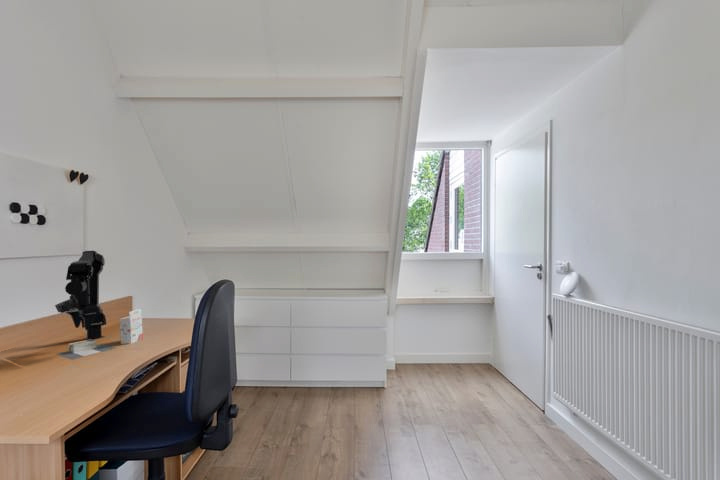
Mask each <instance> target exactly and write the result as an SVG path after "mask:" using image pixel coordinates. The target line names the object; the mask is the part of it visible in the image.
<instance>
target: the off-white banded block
mask: <svg viewBox="0 0 720 480" xmlns="http://www.w3.org/2000/svg"><path fill="white" fill-rule="evenodd" d="M96 345H97V339H93V340H92V339H88V340H87V339H83V340H80V341H76V342H71V343H68V351H69V352H72V353H76V352H80V351H85V350H89V349H94V348H96Z"/></svg>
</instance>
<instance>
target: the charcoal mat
mask: <svg viewBox="0 0 720 480" xmlns="http://www.w3.org/2000/svg"><path fill="white" fill-rule="evenodd" d="M115 349H117V347H114V346H111V345H107V344H103V343H98V344H97V343H96V348H94V349H89V350H85V351H80V352H76V353H72V352H69V350H67V351H63V352H59V353H56V355H58V356H61V357H64V358H67V359H69V360H75V359H80V358H84V357H87V356H91V355H96V354H100V353H103V352H108V351H112V350H115Z"/></svg>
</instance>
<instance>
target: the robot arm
mask: <svg viewBox="0 0 720 480" xmlns="http://www.w3.org/2000/svg"><path fill="white" fill-rule="evenodd" d="M105 264H106V262H105V258H104V255H103V254H100V253H98V252H97V251H96V250H83V251H82V255H81V256H80V258H79V259H78V260H76V261H72V262H71V263H70V264H69V265H68V266H67V267H68V268H67V271H66V272H67V273H66V278H65V280H66V281H69V282H68V283H67V284H66V285H65V287H64V291H65V292H66V293H67V294H68V295H70V296H69V298H68V299H66V300H63V301H61V302H59V303H57V304H55V305H54V307H55V309H56V311H57V313H61V314H64V313H65V314H67V315H69V316H70V318H71V320H72V322H73V324H74V328H76V329H78V328H80V325H81V327H82V328H84V329H85V331H86V337H84V338H83V340H88V339H92V340H97V339H101V338H105V336H104V335H103V334H102V333H103V331H102V328H103V327H102V326H106V325H107V319H106V318H107V317H106V315H105V313H104V312H103V311H104V310H103V308H102V307H101V305H100V303H99V301H100V297H99V295H100V274H101V273H102V272H103V269H104V266H105Z"/></svg>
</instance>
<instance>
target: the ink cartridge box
mask: <svg viewBox="0 0 720 480" xmlns="http://www.w3.org/2000/svg"><path fill="white" fill-rule="evenodd" d="M128 314H129V316H125V317H121V318H119V326H120V327H119V329H120V330H119V331H120V345H122V344H123V345H125V344H127V345H128V344H130V345H131V344H133V343H136V342H139V340H140V341H142V340H144V338H143V337H144V334H143V314H142V309H141V308H137V309H134V310H131V311H129V312H128Z"/></svg>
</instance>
